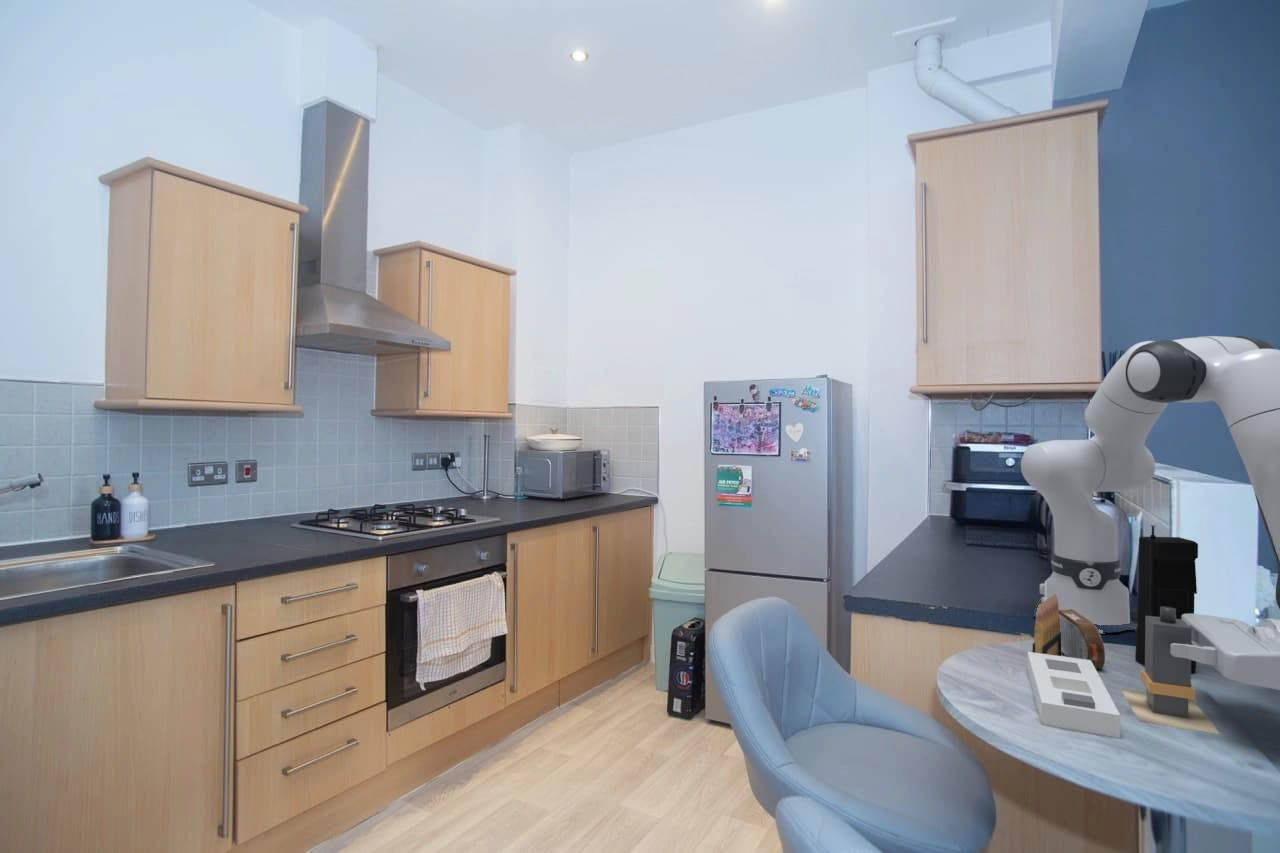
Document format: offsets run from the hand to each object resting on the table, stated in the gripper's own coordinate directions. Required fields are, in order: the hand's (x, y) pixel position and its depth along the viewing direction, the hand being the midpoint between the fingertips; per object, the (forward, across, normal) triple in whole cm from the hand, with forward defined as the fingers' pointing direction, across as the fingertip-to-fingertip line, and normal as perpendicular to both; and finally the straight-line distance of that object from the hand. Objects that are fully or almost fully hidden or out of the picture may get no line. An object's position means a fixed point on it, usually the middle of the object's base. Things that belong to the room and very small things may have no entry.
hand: (1160, 638), depth 97 cm
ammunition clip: (+13, -15, +12) cm, 23 cm away
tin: (+8, -20, +12) cm, 24 cm away
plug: (-1, 0, +10) cm, 11 cm away
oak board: (-1, 0, +12) cm, 12 cm away
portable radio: (-6, -24, +12) cm, 27 cm away
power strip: (+12, +2, +12) cm, 16 cm away
